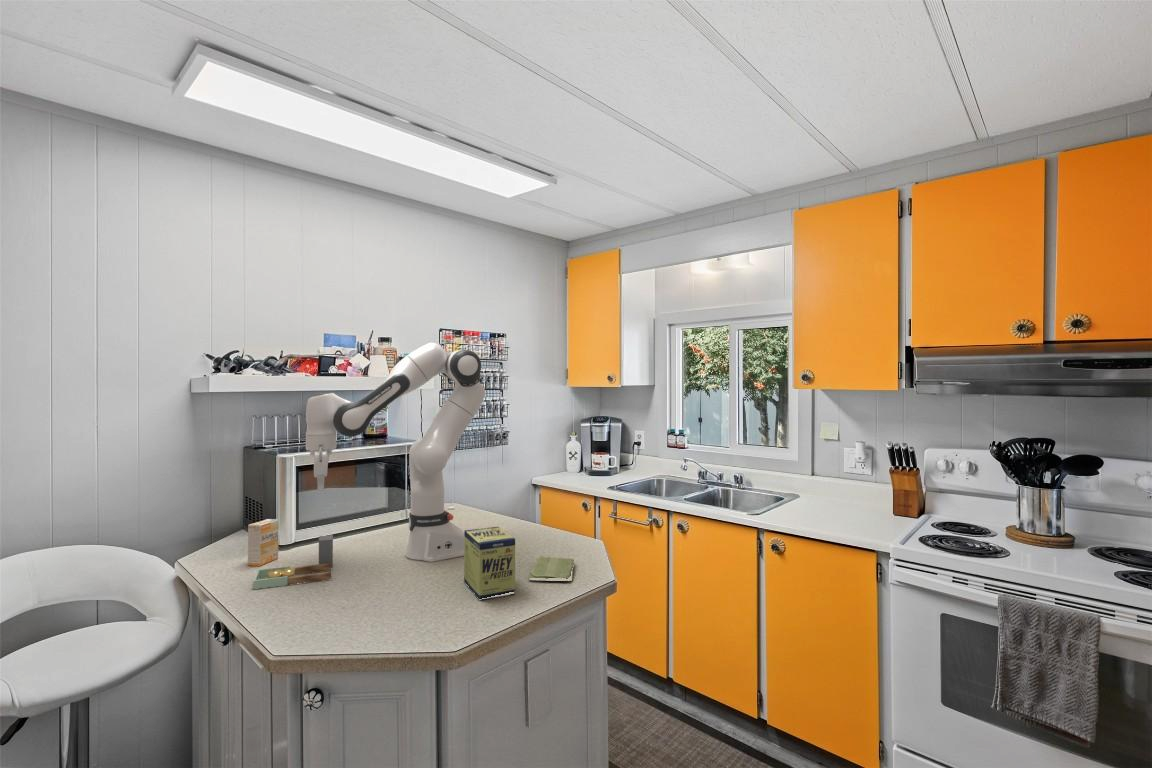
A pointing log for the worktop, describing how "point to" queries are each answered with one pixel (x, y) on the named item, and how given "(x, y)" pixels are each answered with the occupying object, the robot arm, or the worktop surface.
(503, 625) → the worktop surface
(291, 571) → the puck
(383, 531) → the worktop surface
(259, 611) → the worktop surface
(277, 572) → the puck
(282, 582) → the chip tray
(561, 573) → the washcloth
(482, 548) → the protein box
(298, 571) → the slot rails
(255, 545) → the supplement box
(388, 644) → the worktop surface
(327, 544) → the rake block
